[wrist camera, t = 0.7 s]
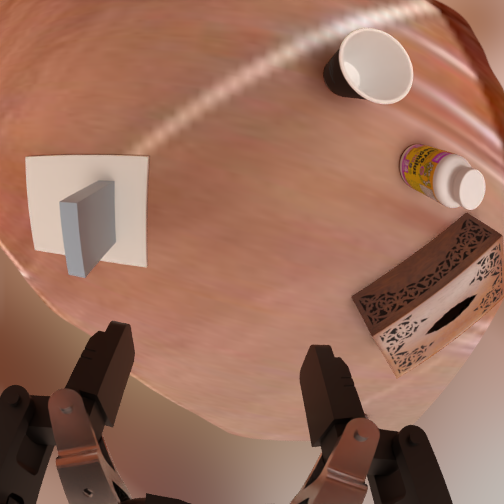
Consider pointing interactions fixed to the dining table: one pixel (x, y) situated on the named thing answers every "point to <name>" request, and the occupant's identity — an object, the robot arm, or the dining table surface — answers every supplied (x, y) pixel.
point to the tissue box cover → (434, 293)
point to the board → (78, 177)
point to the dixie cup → (370, 67)
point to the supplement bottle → (442, 176)
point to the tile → (88, 226)
